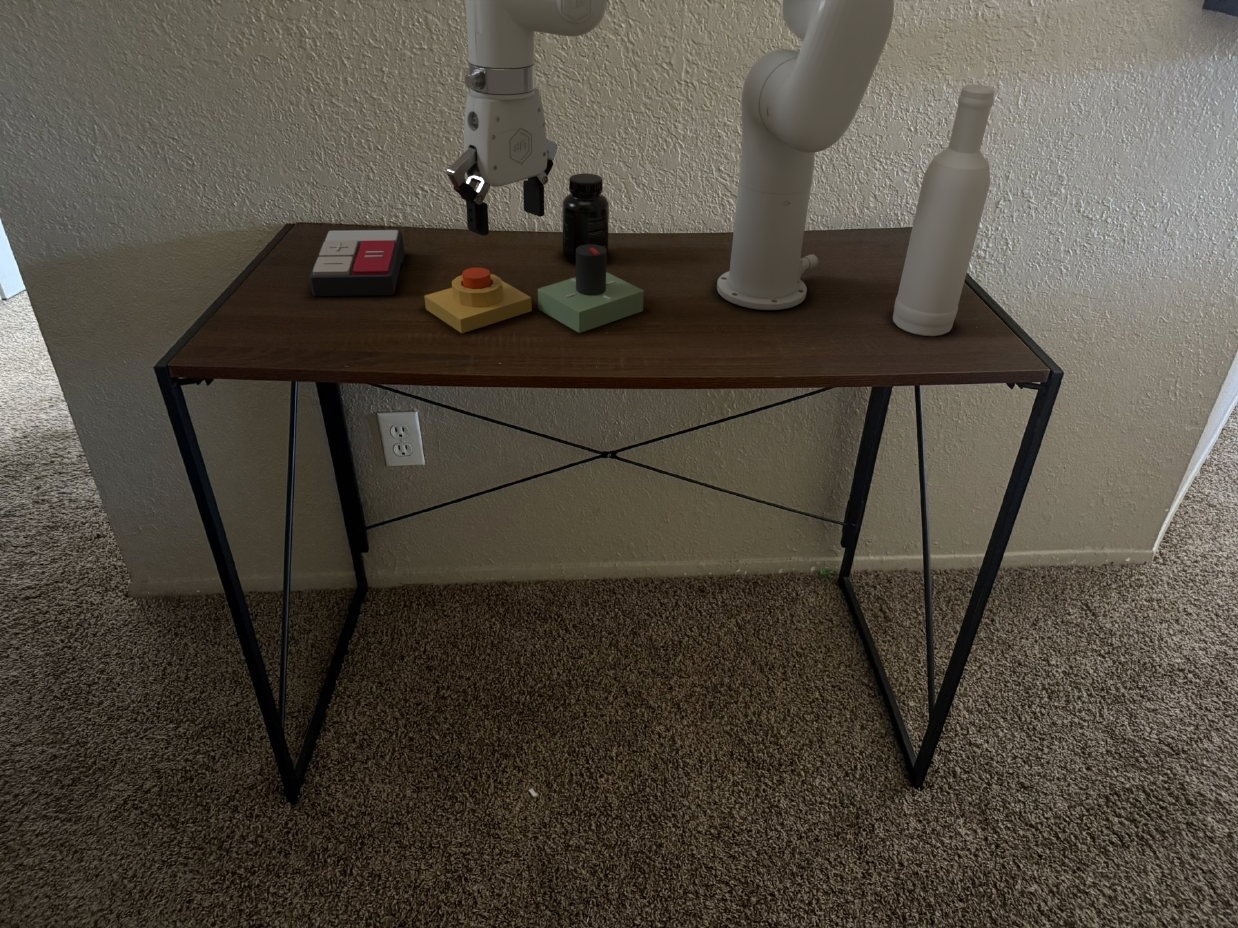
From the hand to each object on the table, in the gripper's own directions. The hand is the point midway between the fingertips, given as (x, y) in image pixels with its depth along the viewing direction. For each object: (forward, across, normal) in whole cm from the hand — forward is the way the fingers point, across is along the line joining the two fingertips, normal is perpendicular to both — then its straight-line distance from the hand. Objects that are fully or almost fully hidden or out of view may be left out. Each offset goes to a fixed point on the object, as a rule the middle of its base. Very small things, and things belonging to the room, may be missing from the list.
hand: (506, 223), depth 114 cm
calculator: (+12, -6, +24) cm, 28 cm away
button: (+9, -3, +3) cm, 9 cm away
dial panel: (+12, +8, -8) cm, 16 cm away
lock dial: (+9, +8, -8) cm, 14 cm away
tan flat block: (+12, -3, +3) cm, 13 cm away
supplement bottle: (+12, +21, +5) cm, 25 cm away
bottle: (+12, +35, -43) cm, 57 cm away
